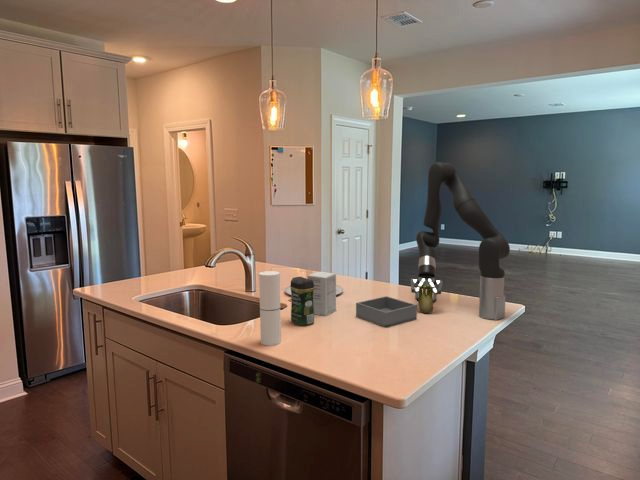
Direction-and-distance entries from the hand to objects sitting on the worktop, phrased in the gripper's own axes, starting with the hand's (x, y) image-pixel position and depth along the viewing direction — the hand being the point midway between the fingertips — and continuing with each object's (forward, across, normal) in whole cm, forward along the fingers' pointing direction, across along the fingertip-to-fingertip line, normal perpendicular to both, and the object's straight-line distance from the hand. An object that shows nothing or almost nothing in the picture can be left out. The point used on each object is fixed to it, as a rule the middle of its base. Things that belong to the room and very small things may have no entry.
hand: (425, 300), depth 190 cm
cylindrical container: (+37, -53, -29) cm, 71 cm away
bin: (+11, -16, -3) cm, 19 cm away
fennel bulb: (+3, 0, +5) cm, 6 cm away
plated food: (-13, -56, +22) cm, 62 cm away
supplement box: (+9, -44, -1) cm, 45 cm away
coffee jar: (+21, -48, -12) cm, 54 cm away
